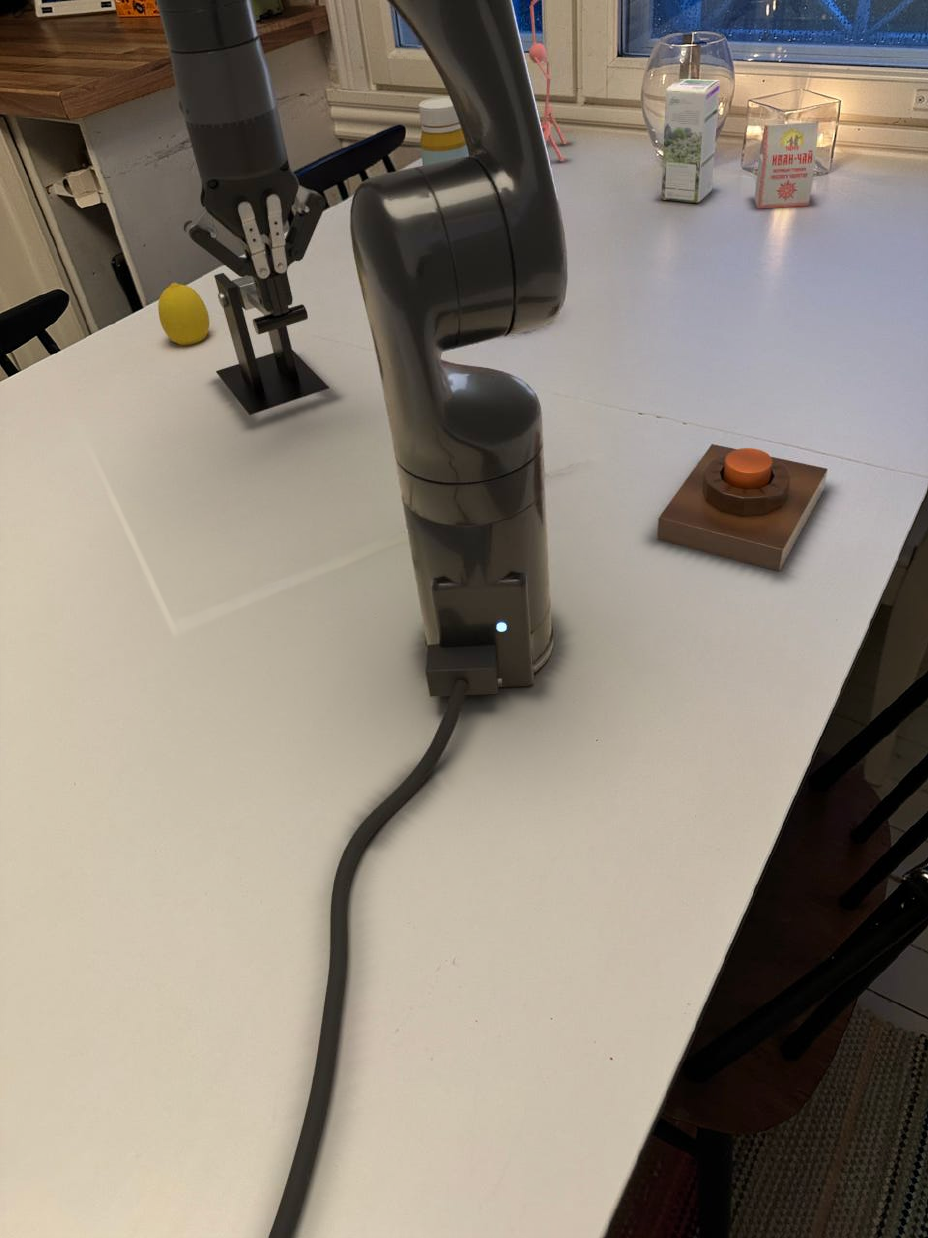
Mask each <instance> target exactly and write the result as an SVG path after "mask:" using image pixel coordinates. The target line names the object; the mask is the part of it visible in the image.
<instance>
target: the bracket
mask: <svg viewBox="0 0 928 1238" xmlns="http://www.w3.org/2000/svg"><path fill="white" fill-rule="evenodd" d="M213 277H214V281H215V284H216V287H217V291H218V293H217V298H218V301H219V304H220V306H221V307H222V309H223V312H224V316H225V319H226V323H227V326H228V329H229V333H230V337H231V340H232V344H233V347H234V351H235V355H236V358H237V361H238V363H237V364H234V365H230V366H227V367H225V368H224V367H223V368H221V369H218V370H216V371H215V373H216V374H217V375H218V376H219V378H220V379H221V380H222V382H223V383H224V384H225V386H226V387H227V389H228V390H229V391H230V392H231V393H232V394H233V396H234V397H235V399H236V400H237V401H238V402H239V403H240V405H241V406H242V408H243V409H244V410H245V412H247V414H248V415H249V416H252V415H254V414H257V413H260V412H263V411H267V410H270V409H272V408H275V407H278V406H281V405H284V404H287V403H290V402H293V401H295V400H299V399H302V398H305V397H309V396H311V395H314V394H316V393H320V392H322V391H326V390H328V389H330V387H329V386H328V384H327V383H326V382H324V381H323V379H322V378H321V377H320V376H319V375H318V374H317V373H316V372H315V371H314V370H313V369H312V368H311V367H310V365H308V364H307V363H306V362H305V361H304V360H303V359H302V358H301V357H300V355H298V354H297V352H295V351H294V349H293V347H292V342H291V340H290V336H289V335H290V334H289V331H288V326H285V327H281V328H278V329H275V330H272V331H269V332H267V333H268V337H269V340H270V344H271V345H270V346H271V348H272V352H271V353H268V354H265V355H262V356H259V357H256V353H255V350H254V347H253V343H252V338H251V335H250V331H249V327H248V324H247V320H246V316H245V312H244V308H243V307H242V305H241V301H240V297H239V293H238V290H237V286H236V285H235V284H234V283H233V282H232V280H231V279H230V277H228V275H226V274H225V272H221V273H218V274H214V276H213ZM263 316H265V315H264V314H263Z"/></svg>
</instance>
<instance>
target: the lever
mask: <svg viewBox="0 0 928 1238" xmlns="http://www.w3.org/2000/svg"><path fill="white" fill-rule="evenodd" d="M231 281H232V282H233V283H234V284H235V285H236V286H237V290H238V293H239V297H240V301H241V305H242V308H243V310H245V311H248V310H251V309H252V310H253V309H256V310H258V311H259V312H260V313H261V314H262V316H258V317H256V318H253V319H252V326H253V328H254V331H255V333H256V335H262V334H265V333H268V332H269V331H272V330H275V329H278V328H281V327H285V326H287V327H288V326H291V325H294V324H298V323H300V322H303V321H307V320H308V318H309V314H308V310H307V308H306V306H305V305H304V304H303V303H301V304H298V305H296V306H292V307H291V306H290V307H288V308H289V312H287V313H284V314H281V315H278V316H275V317H274V316H273V315H272V314H271V313H270V312H267V311H266V310H265V309H264V308H263V307H262V306H261V304H260V303H259V300H258V296H257V292H256V288H255V284H254V280H253V277H252V276H245V277H238V278H235V279H232V280H231ZM264 315H265V316H264Z"/></svg>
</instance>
